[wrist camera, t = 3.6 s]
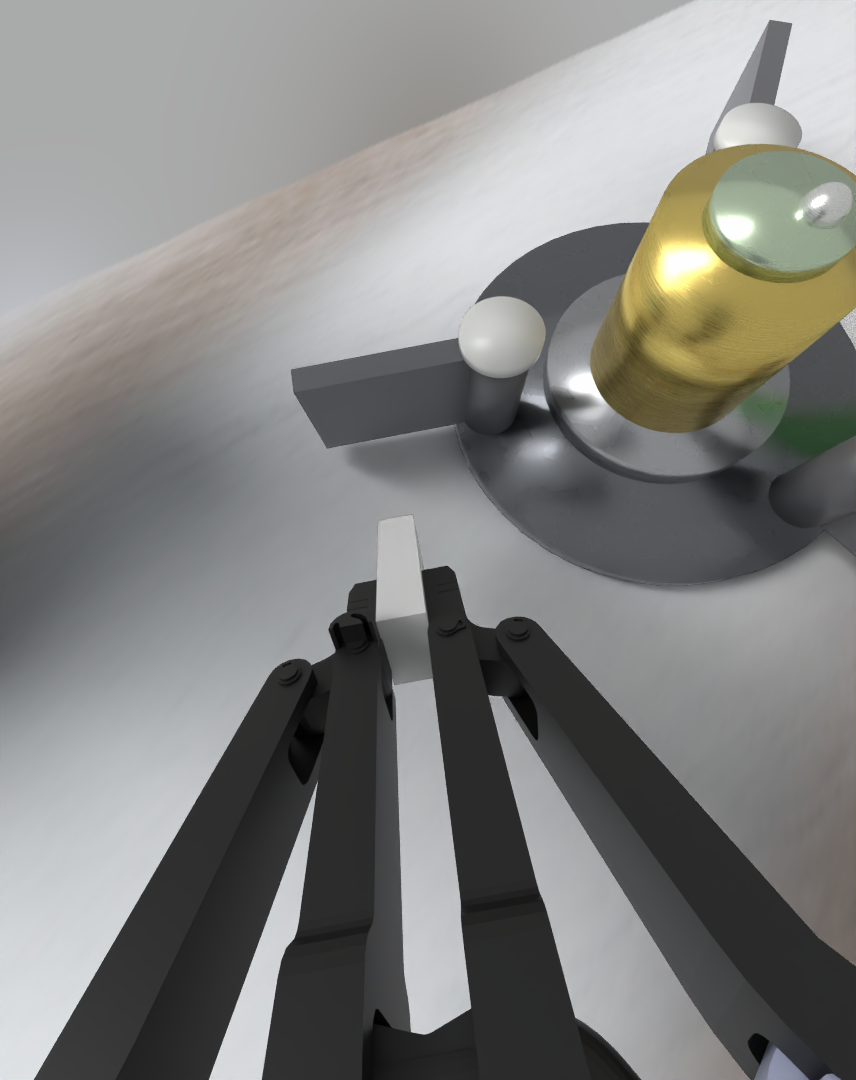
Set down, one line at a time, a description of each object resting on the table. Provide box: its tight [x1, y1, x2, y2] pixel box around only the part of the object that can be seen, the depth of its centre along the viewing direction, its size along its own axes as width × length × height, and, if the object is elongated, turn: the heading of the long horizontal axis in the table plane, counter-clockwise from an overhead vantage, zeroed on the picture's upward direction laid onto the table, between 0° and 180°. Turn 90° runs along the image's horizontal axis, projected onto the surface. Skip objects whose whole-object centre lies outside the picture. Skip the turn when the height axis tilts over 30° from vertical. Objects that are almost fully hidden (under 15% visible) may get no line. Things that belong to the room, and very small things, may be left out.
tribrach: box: [454, 144, 856, 585], centre depth 20 cm, size 24×24×12 cm
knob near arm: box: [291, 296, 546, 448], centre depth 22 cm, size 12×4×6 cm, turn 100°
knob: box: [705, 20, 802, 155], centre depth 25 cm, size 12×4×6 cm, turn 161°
